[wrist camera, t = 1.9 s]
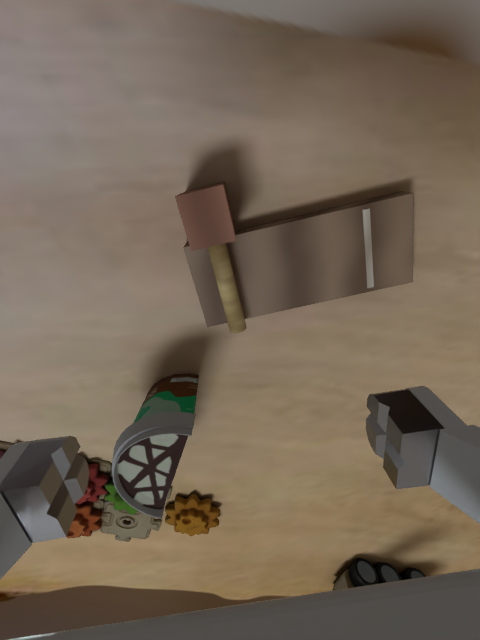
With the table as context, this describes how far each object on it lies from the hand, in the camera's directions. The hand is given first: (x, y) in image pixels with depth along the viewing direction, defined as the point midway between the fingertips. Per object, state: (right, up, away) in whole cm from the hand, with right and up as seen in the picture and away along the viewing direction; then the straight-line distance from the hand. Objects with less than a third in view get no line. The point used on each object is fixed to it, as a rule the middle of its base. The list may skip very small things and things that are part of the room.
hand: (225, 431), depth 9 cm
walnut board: (+6, +9, +22) cm, 24 cm away
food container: (-9, -6, +29) cm, 31 cm away
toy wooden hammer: (-1, +9, +22) cm, 24 cm away
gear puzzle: (-18, -22, +36) cm, 46 cm away
